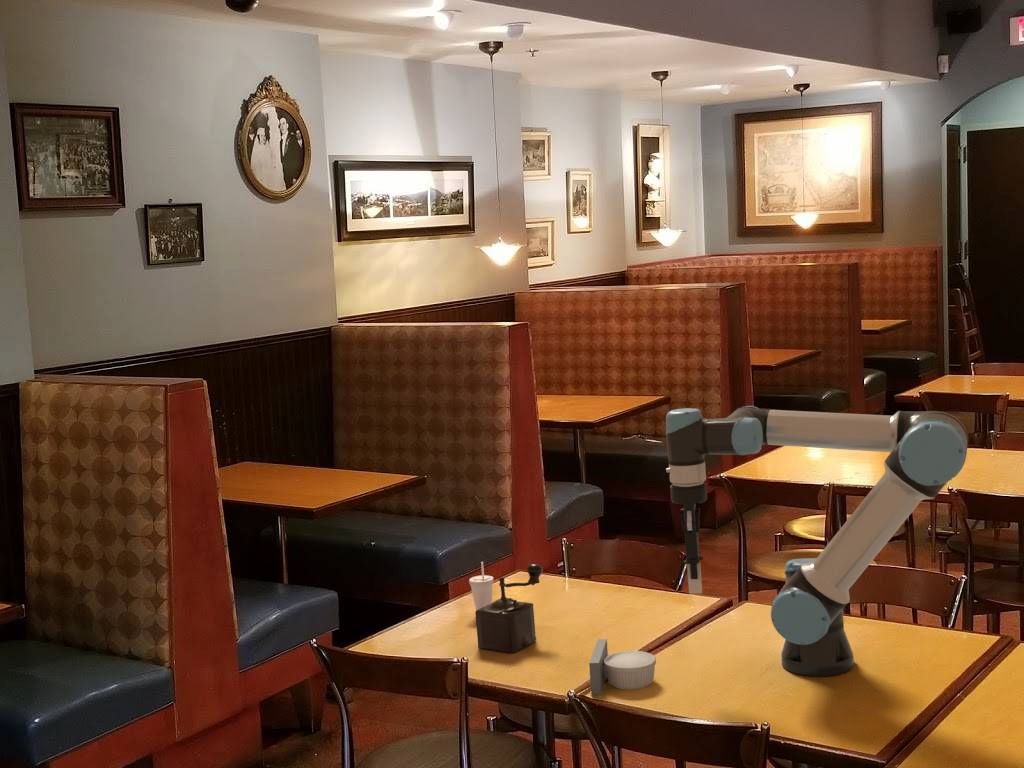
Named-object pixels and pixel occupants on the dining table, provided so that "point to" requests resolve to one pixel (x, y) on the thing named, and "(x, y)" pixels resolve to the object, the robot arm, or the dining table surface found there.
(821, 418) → the robot arm
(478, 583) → the smoothie
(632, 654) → the ramekin
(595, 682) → the board
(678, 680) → the dining table surface
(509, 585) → the coffee grinder
